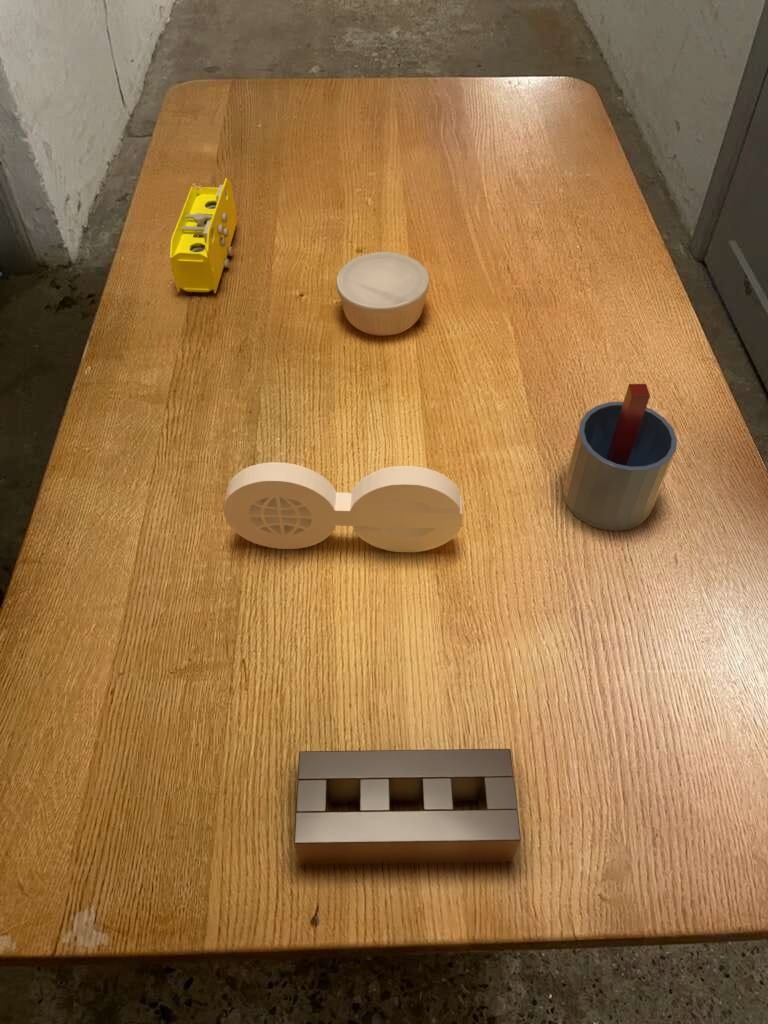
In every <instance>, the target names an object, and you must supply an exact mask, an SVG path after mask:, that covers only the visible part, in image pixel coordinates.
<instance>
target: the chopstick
mask: <svg viewBox="0 0 768 1024" xmlns="http://www.w3.org/2000/svg"><path fill="white" fill-rule="evenodd" d="M650 397H651V395H650V391H649V388H648V385H647V383H629V384H628V386H627V389H626V392H625V396H624V398H623V401H622V402H623V405H622V408H621V412H620V415H619V418H618V421H617V425H616V428H615V431H614V434H613V438H612V441H611V444H610V447H609V450H608V454H607V457H606V459H607V460H609V461H611V462H614V463H616V464H620V465H625V466H626V465H627V462H628V459H629V456H630V453H631V450H632V447H633V444H634V442H635V439H636V436H637V433H638V430H639V427H640V424H641V421H642V418H643V415H644V412H645V409H646V407H647V406H648V403H649V400H650Z"/></svg>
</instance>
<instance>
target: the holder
mask: <svg viewBox="0 0 768 1024" xmlns="http://www.w3.org/2000/svg"><path fill="white" fill-rule="evenodd" d="M512 759H513V758H512V750H511V749H510V748H465V749H464V748H461V749H459V748H457V749H456V748H455V749H454V748H453V749H451V748H450V749H449V748H448V749H382V750H381V749H379V750H378V749H375V750H373V749H371V750H370V749H369V750H304V751H303V750H302V751H300V750H299V751H298V761H297V762H298V763H297V766H298V767H297V781H296V798H295V799H296V800H295V802H296V803H295V821H294V836H293V837H294V838H293V844H294V848H295V852H296V856H297V859H298V864H299V865H303V866H306V865H369V864H370V865H372V864H373V865H374V864H375V865H377V864H379V865H380V864H441V863H442V864H448V863H451V864H453V863H504V862H505V863H512V862H513V861H514V858H515V856H516V853H517V851H518V848H519V846H520V844H521V841H522V837H521V827H520V818H519V811H518V802H517V791H516V784H515V777H514V768H513V767H514V766H513V760H512ZM418 802H419V810H391V803H418ZM454 802H477V803H478V809H455V806H454ZM349 803H350V804H353V803H355V804H356V803H359V811H331V804H349Z"/></svg>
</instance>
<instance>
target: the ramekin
mask: <svg viewBox="0 0 768 1024" xmlns="http://www.w3.org/2000/svg"><path fill="white" fill-rule="evenodd" d="M335 286H336V287H335V288H336V292H337V295H338V297H339V299H340V302H341V307H342V309H343V313H344V316H345V318H346V320H347V321H348V322H349V324H350V325H352V326H353V327H354V328H355V329H357V330H358V331H360V332H362V333H363V334H368V335H372V336H377V337H378V336H379V337H386V336H387V337H388V336H394V335H398V334H401V333H403V332H406V331H407V330H409V329H411V327H413V326H414V325H415V324H416V323H417V322H418V321H419V319H420V317H421V315H422V313H423V309H424V305H425V300H426V296H427V294H428V292H429V288H430V276H429V272H428V271H427V269H426V267H425V266H424V265H423V264H422V263H420V261H418V260H416V259H414V258H413V257H410V256H409V255H405V254H403V253H397V252H392V251H376V252H375V251H374V252H371V253H365V254H362V255H358V256H357V257H354V258H353V259H351V260H350V261H348V262H347V263H345V264H344V265H343V266H342V267H341V268H340V270H339V271H338V272H337V275H336V279H335Z"/></svg>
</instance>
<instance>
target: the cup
mask: <svg viewBox="0 0 768 1024" xmlns="http://www.w3.org/2000/svg"><path fill="white" fill-rule="evenodd" d="M623 402H624V401H608V402H604V403H601V404H597V405H596V406H593V408H590V409H589V410H588V411H587V412H586V413H585V414H584V416H583V417H582V418H581V420H580V421H579V426H578V429H577V433H576V436H575V441H574V444H573V447H572V452H571V457H570V459H569V460H570V461H569V464H568V468H567V472H566V476H565V480H564V484H563V490H562V491H563V498H564V501H565V504H566V506H567V508H568V509H569V511H571V513H572V514H573V515H574V516H575V517H576V518H578V519H579V520H580V521H582V522H583V523H585V524H586V525H589V526H591V527H593V528H595V529H596V528H597V529H600V530H603V531H611V532H621V531H627V530H630V529H631V530H632V529H633V528H636V527H637V526H640V525H641V524H642V523H644V522H645V521H646V520H647V519H648V518H649V516H650V515H651V513H652V510H653V508H654V506H655V503H656V502H657V499H658V496H659V494H660V491H661V489H662V487H663V484H664V482H665V479H666V476H667V473H668V472H669V468H670V466H671V463H672V461H673V459H674V457H675V454H676V452H677V445H678V444H677V443H678V439H677V435H676V432H675V431H674V427H673V426H672V425H671V423H670V422H669V421H668V420H667V419H666V418H665V417H664V416H662V415H661V414H660V413H658V412H657V411H656V410H654V409H652V408H649V407H647V406H646V409H645V412H644V415H643V418H642V421H641V424H640V427H639V430H638V433H637V436H636V439H635V442H634V444H633V447H632V450H631V453H630V456H629V459H628V462H627V465H626V466H625V465H620V464H616V463H614V462H611V461H609V460H607V459H606V457H607V454H608V450H609V447H610V444H611V441H612V438H613V434H614V431H615V428H616V425H617V421H618V418H619V415H620V412H621V408H622V405H623Z"/></svg>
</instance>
